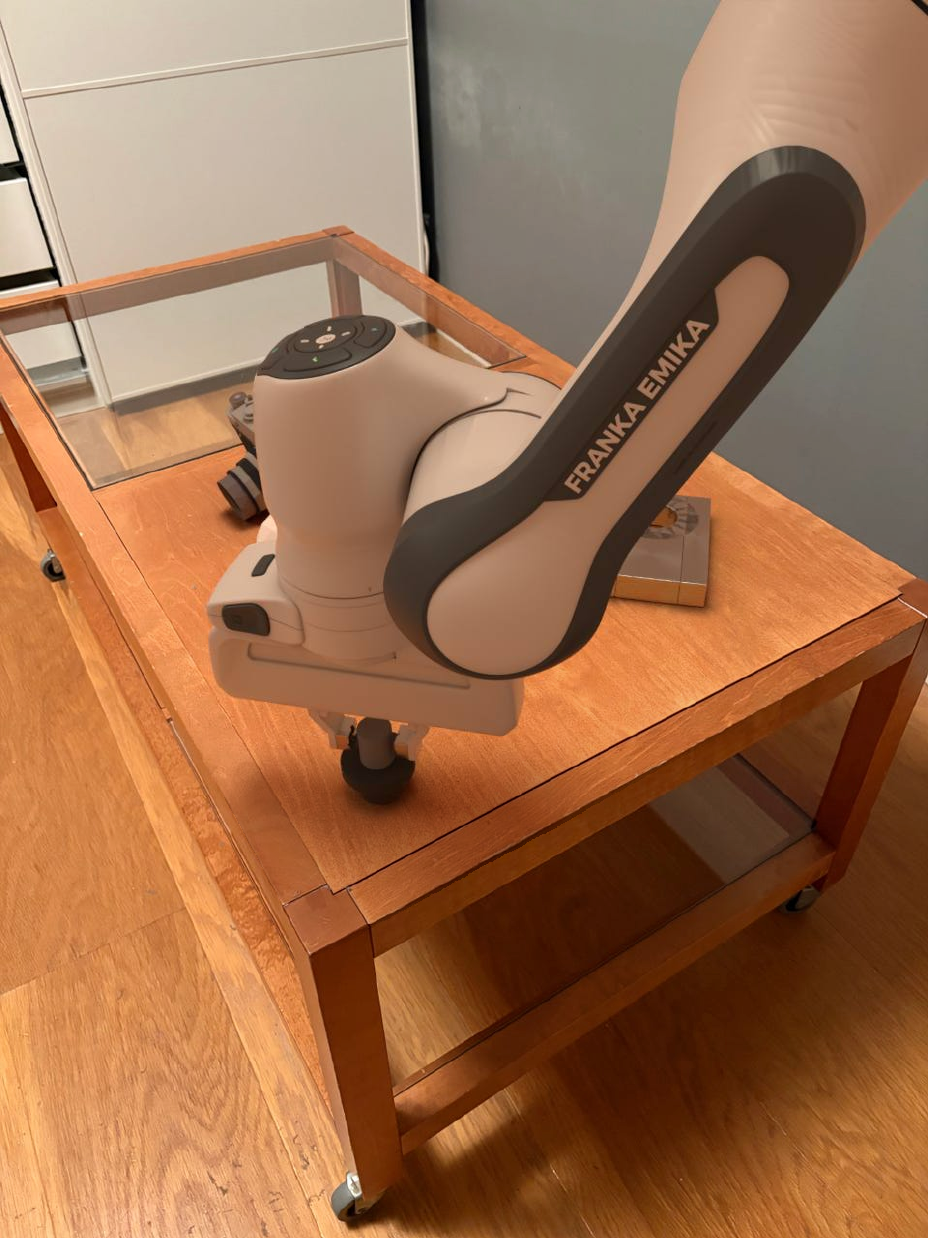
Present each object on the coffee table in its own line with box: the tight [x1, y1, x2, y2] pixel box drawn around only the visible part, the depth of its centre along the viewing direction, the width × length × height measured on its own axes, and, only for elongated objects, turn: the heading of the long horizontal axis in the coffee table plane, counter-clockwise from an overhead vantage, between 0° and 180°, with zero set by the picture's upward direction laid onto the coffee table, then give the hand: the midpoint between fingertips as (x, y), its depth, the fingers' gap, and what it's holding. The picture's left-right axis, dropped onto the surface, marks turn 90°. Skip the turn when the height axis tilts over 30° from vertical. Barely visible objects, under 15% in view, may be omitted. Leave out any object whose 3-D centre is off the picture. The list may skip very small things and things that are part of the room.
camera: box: [216, 390, 268, 521], centre depth 94 cm, size 16×9×10 cm, turn 37°
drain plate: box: [610, 494, 712, 608], centre depth 88 cm, size 14×14×2 cm
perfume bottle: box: [256, 514, 277, 543], centre depth 84 cm, size 8×8×12 cm
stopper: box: [339, 717, 416, 805], centre depth 66 cm, size 5×5×6 cm
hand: (376, 748), depth 65 cm, fingers open, 3 cm apart
